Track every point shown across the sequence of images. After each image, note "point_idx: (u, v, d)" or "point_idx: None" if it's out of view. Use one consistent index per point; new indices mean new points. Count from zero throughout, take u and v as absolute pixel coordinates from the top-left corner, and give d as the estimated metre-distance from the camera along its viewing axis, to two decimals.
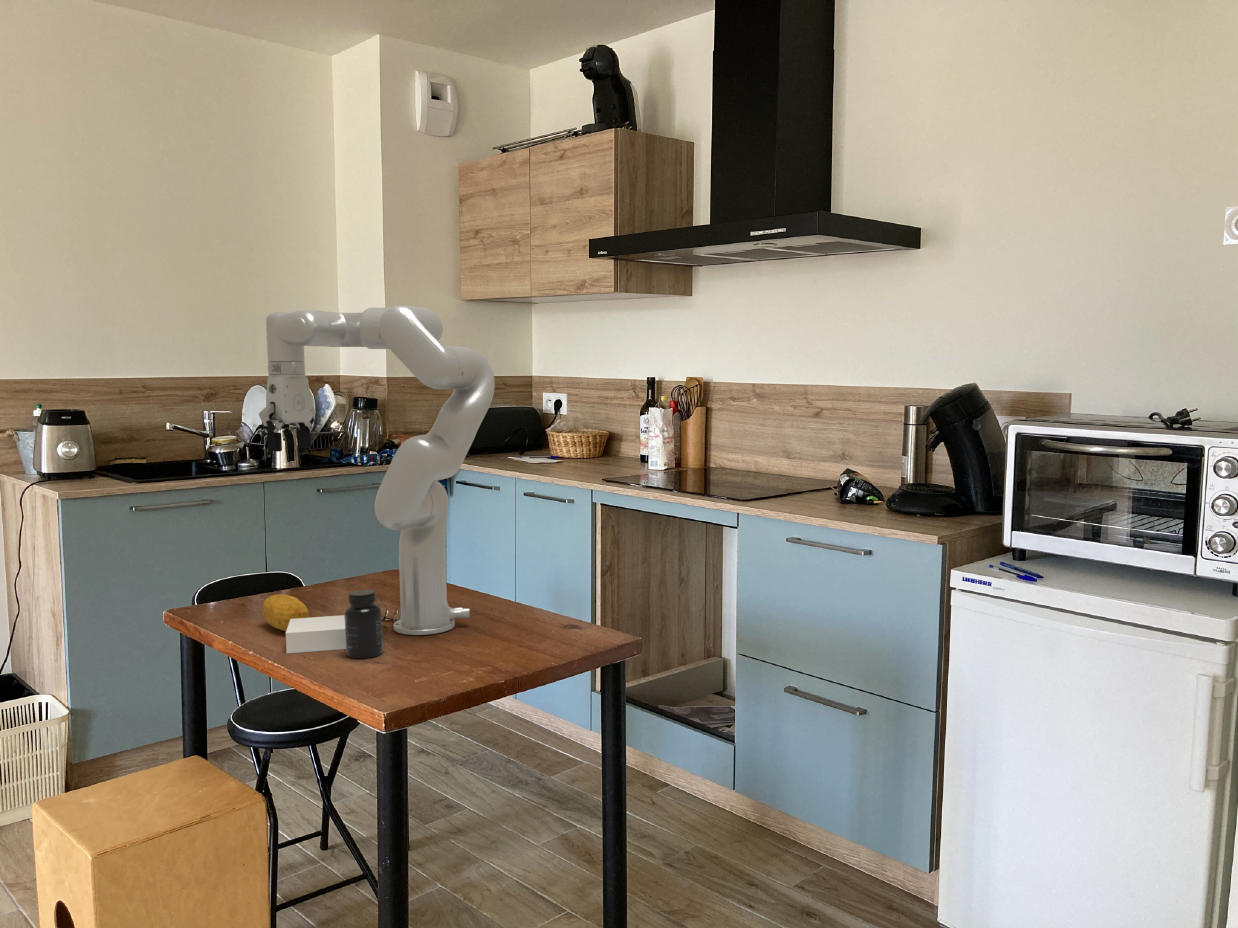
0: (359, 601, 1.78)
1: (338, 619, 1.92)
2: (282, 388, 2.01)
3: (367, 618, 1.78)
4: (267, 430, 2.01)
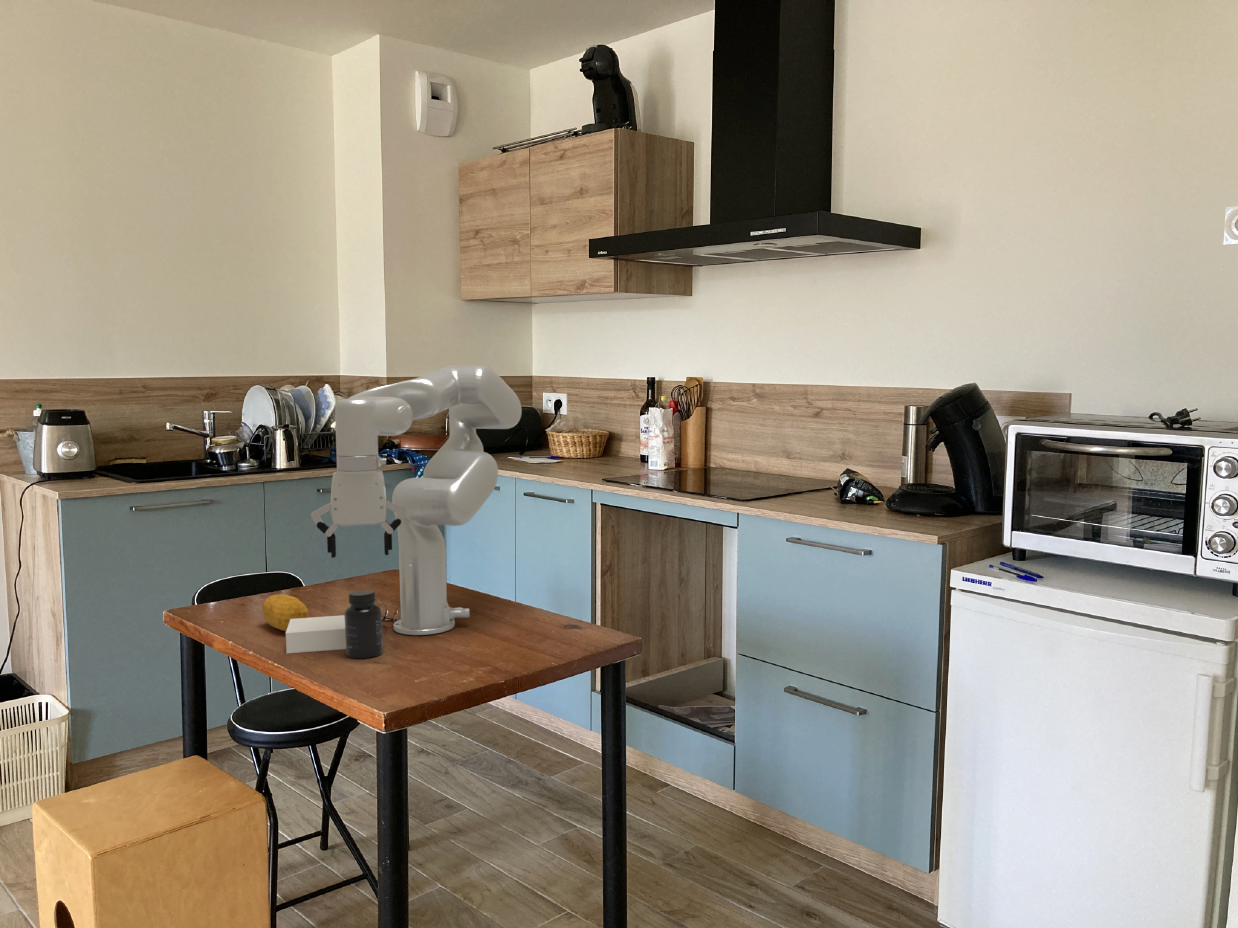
0: (359, 601, 1.78)
1: (338, 619, 1.92)
2: None
3: (367, 617, 1.78)
4: None
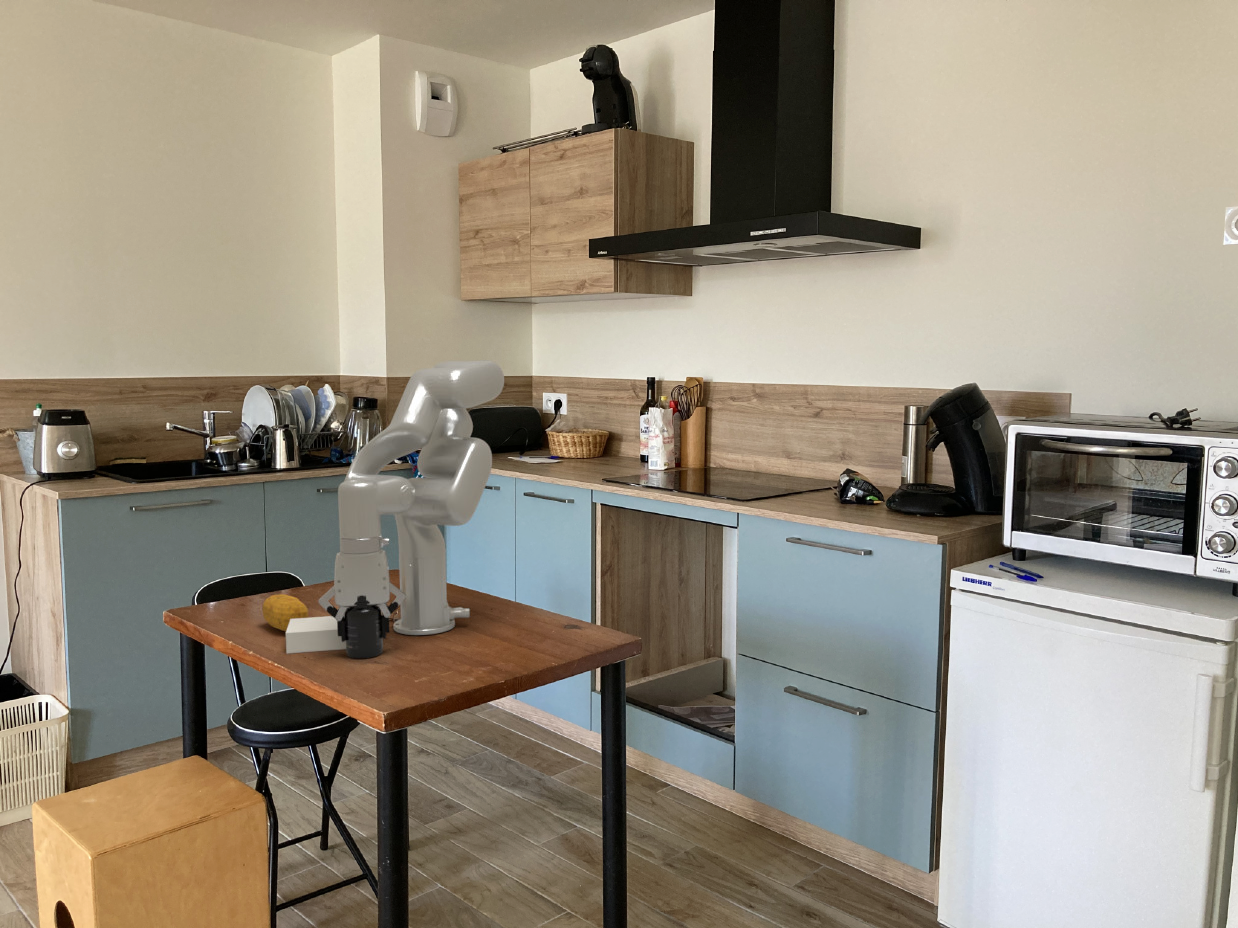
0: (359, 601, 1.78)
1: None
2: None
3: (367, 617, 1.78)
4: (391, 613, 1.82)
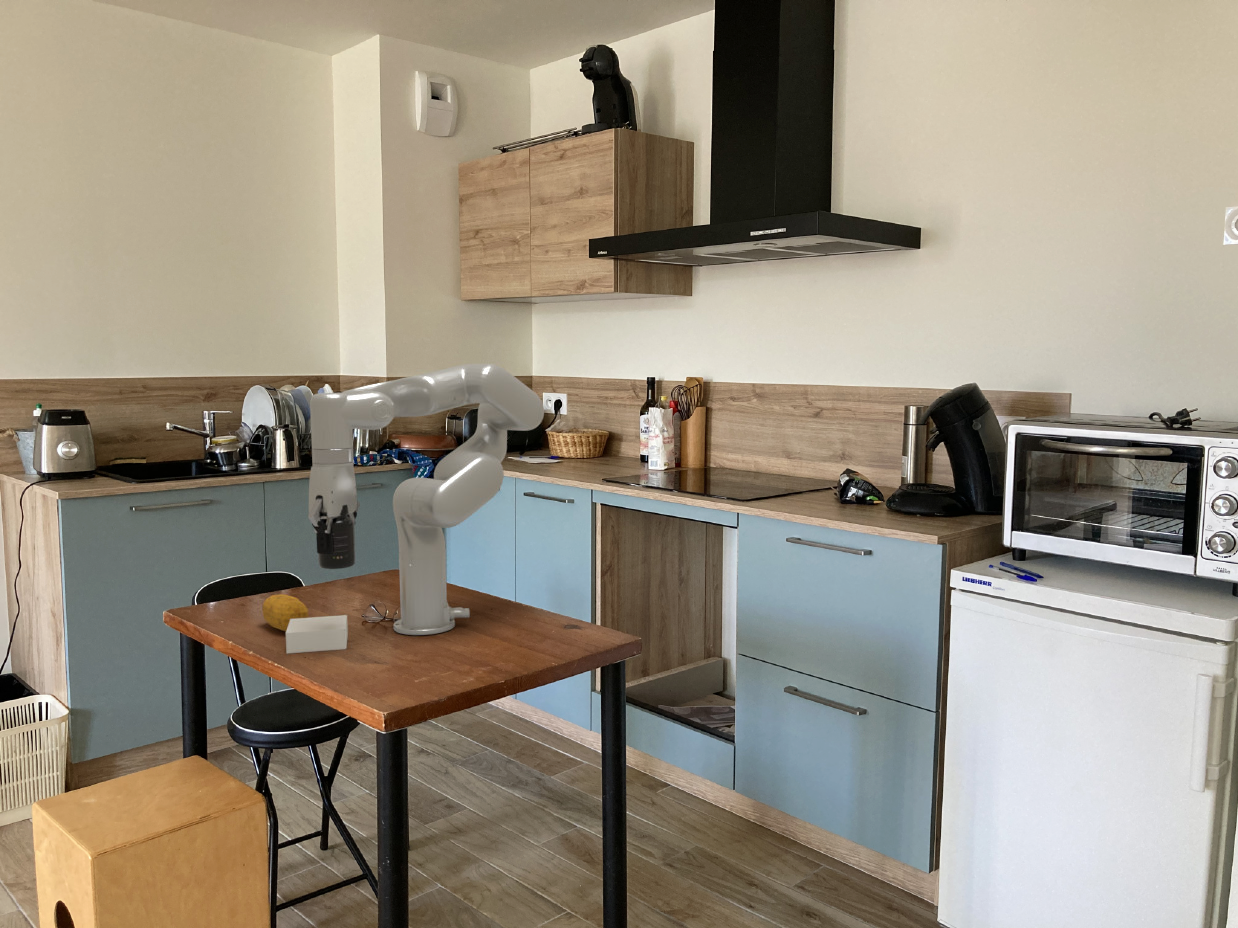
0: (344, 511, 1.82)
1: (338, 619, 1.92)
2: None
3: (353, 525, 1.83)
4: None
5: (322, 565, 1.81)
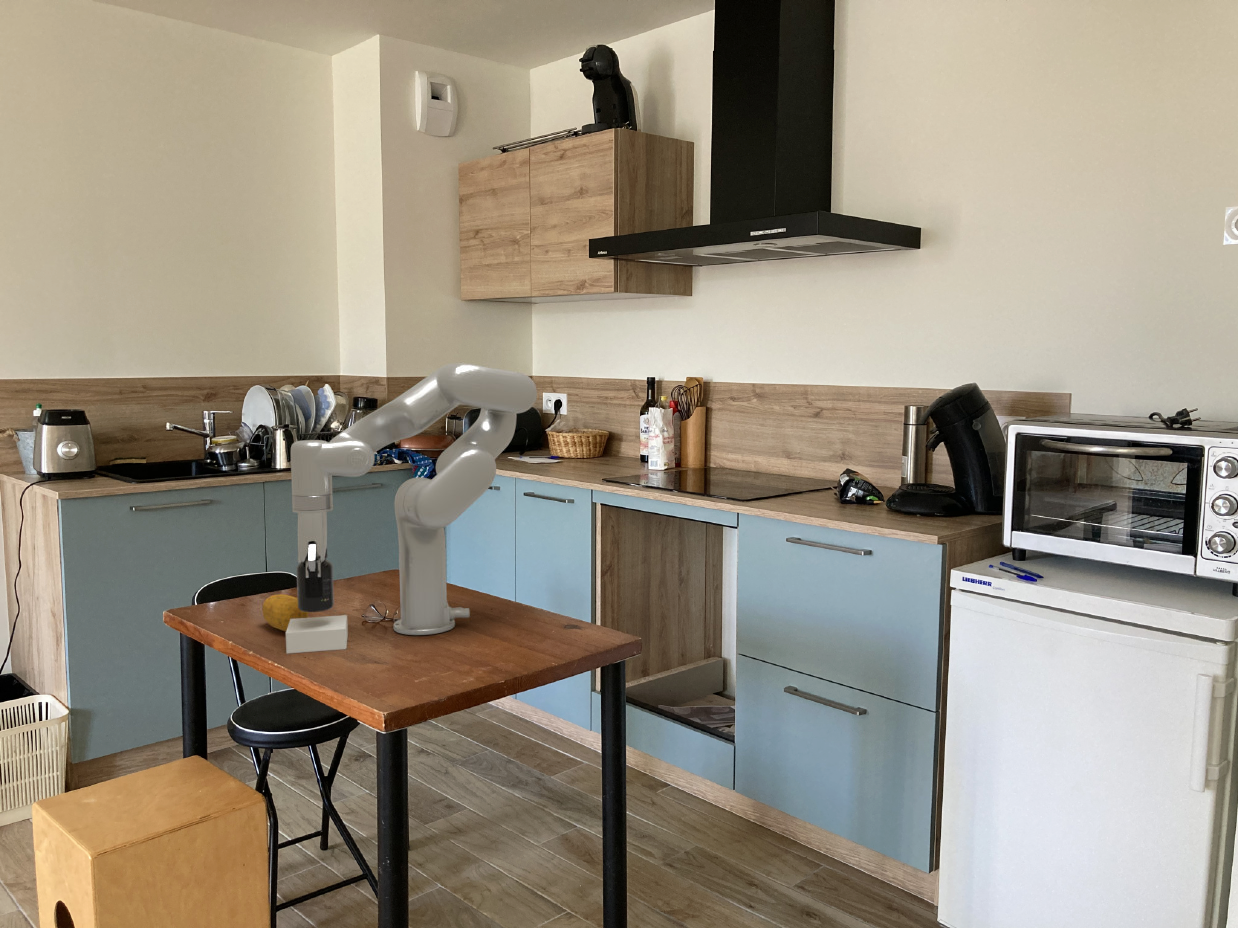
0: (326, 554, 1.87)
1: (338, 619, 1.92)
2: None
3: None
4: None
5: (308, 609, 1.85)
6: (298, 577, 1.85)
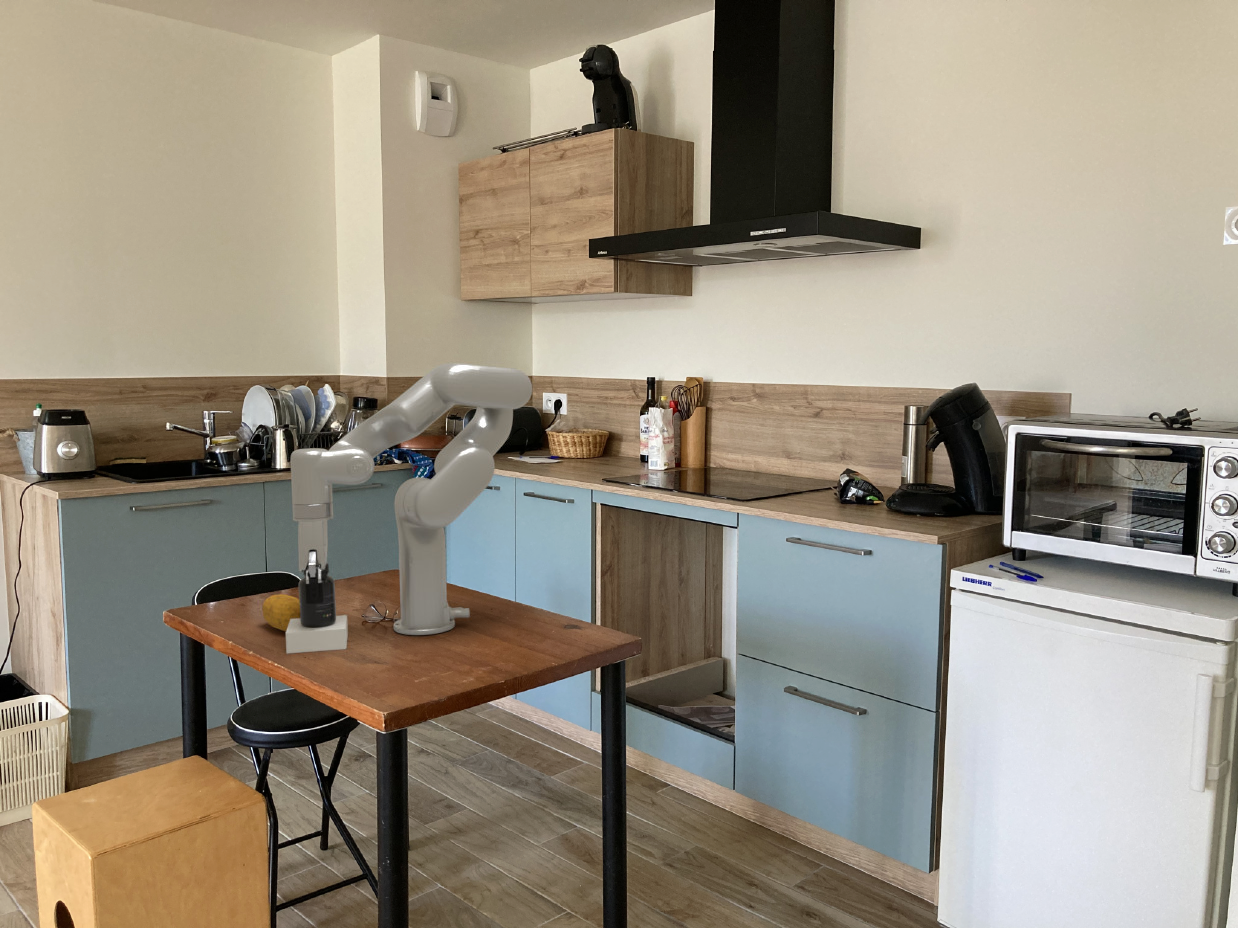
0: (328, 569, 1.88)
1: (338, 619, 1.92)
2: None
3: (334, 583, 1.89)
4: None
5: (310, 625, 1.85)
6: (300, 593, 1.86)
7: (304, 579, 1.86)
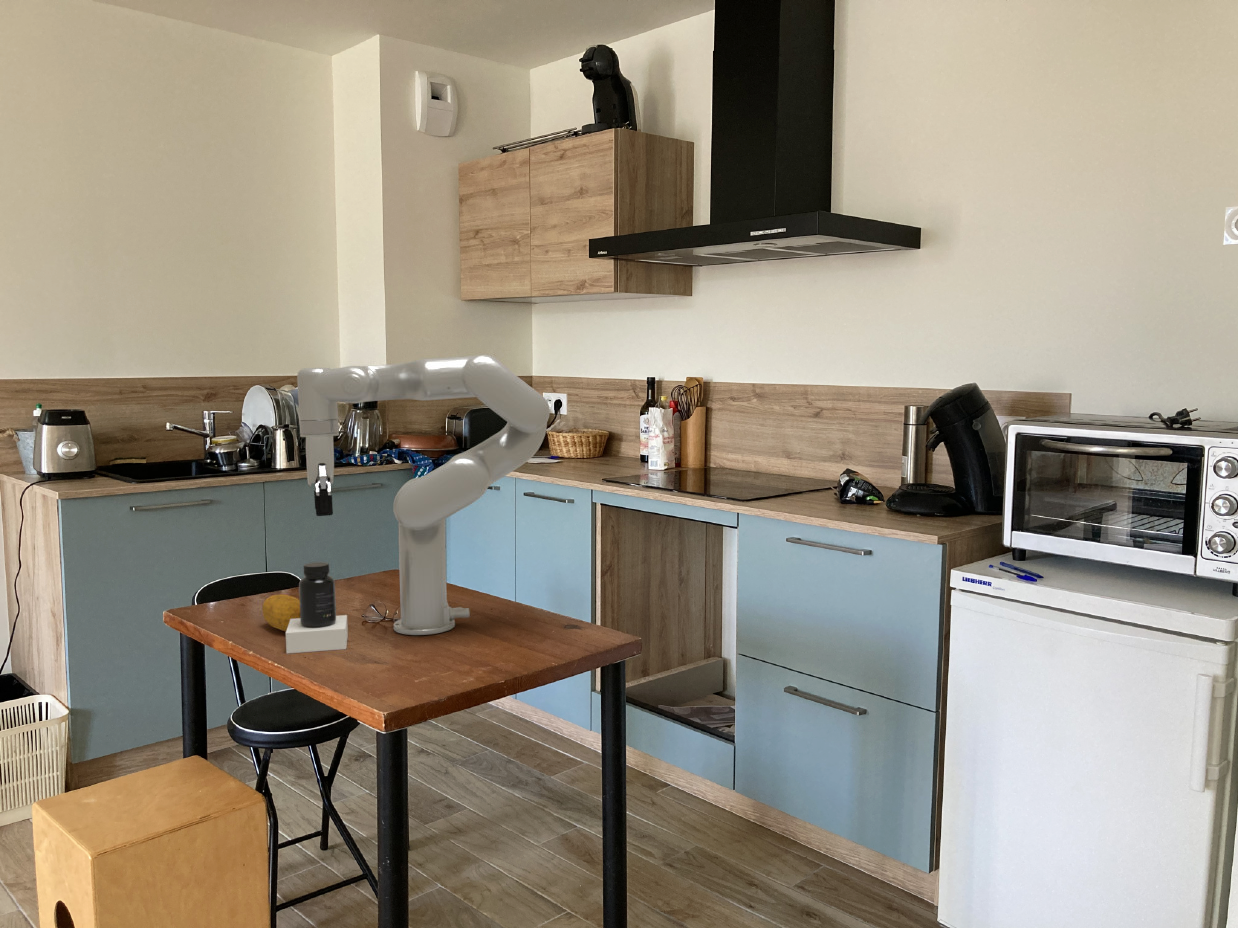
0: (328, 569, 1.88)
1: (338, 619, 1.92)
2: None
3: None
4: None
5: (310, 625, 1.85)
6: (300, 593, 1.86)
7: (304, 579, 1.86)
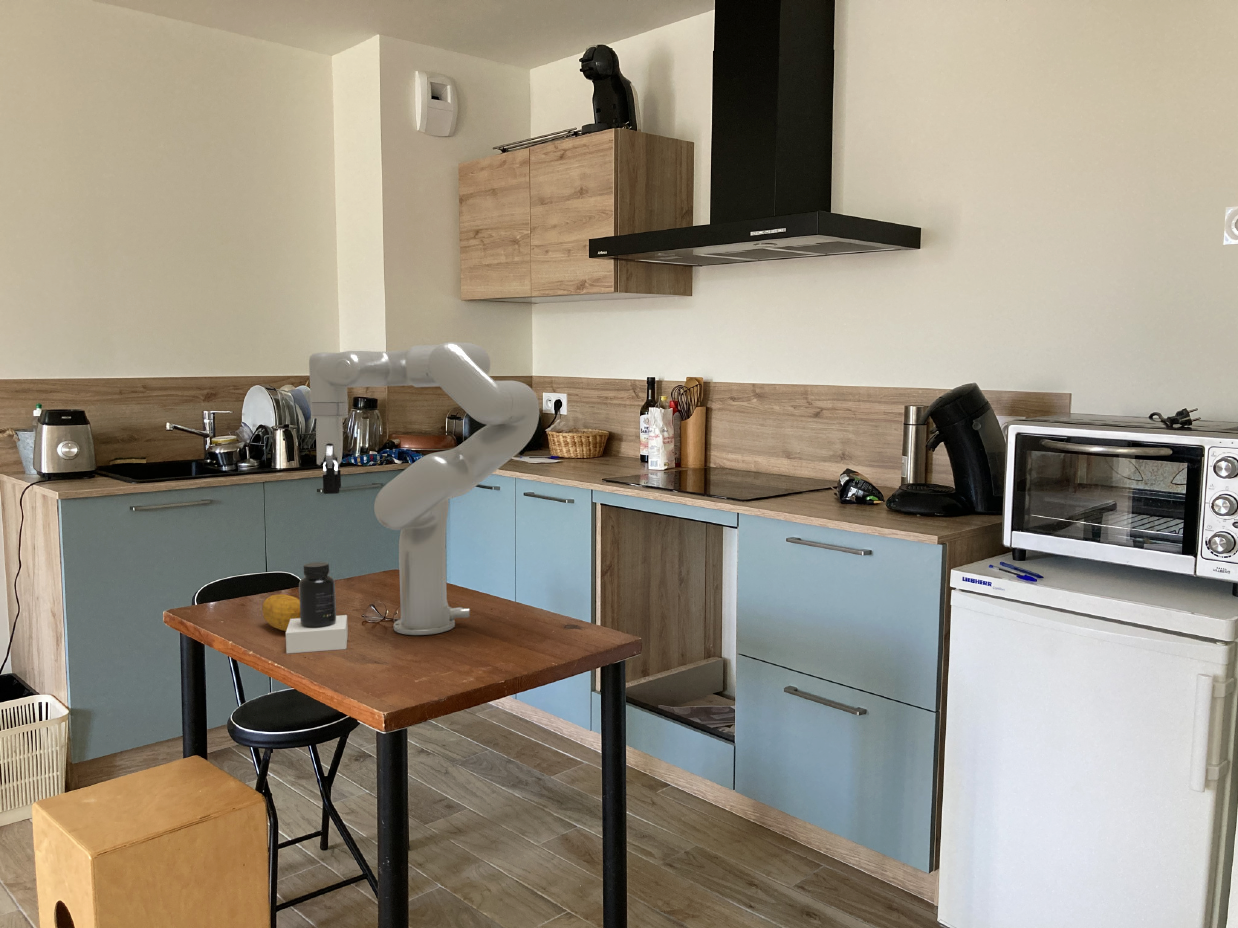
0: (328, 569, 1.88)
1: (338, 619, 1.92)
2: None
3: None
4: None
5: (310, 625, 1.85)
6: (300, 593, 1.86)
7: (304, 579, 1.86)
